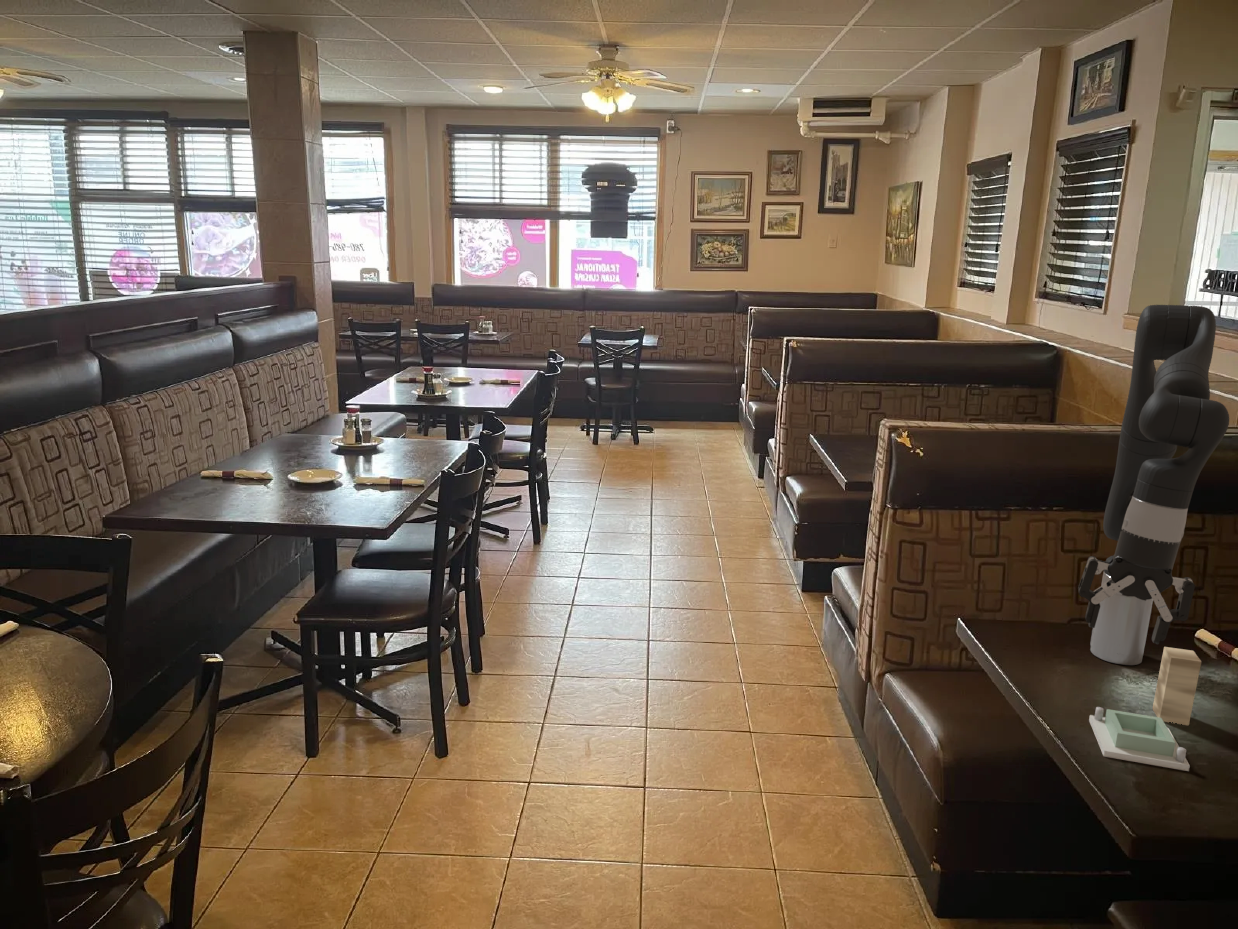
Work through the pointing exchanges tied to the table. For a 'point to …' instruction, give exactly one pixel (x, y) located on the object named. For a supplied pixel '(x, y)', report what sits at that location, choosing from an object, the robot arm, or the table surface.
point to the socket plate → (1137, 739)
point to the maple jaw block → (1176, 685)
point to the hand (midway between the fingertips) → (1122, 633)
